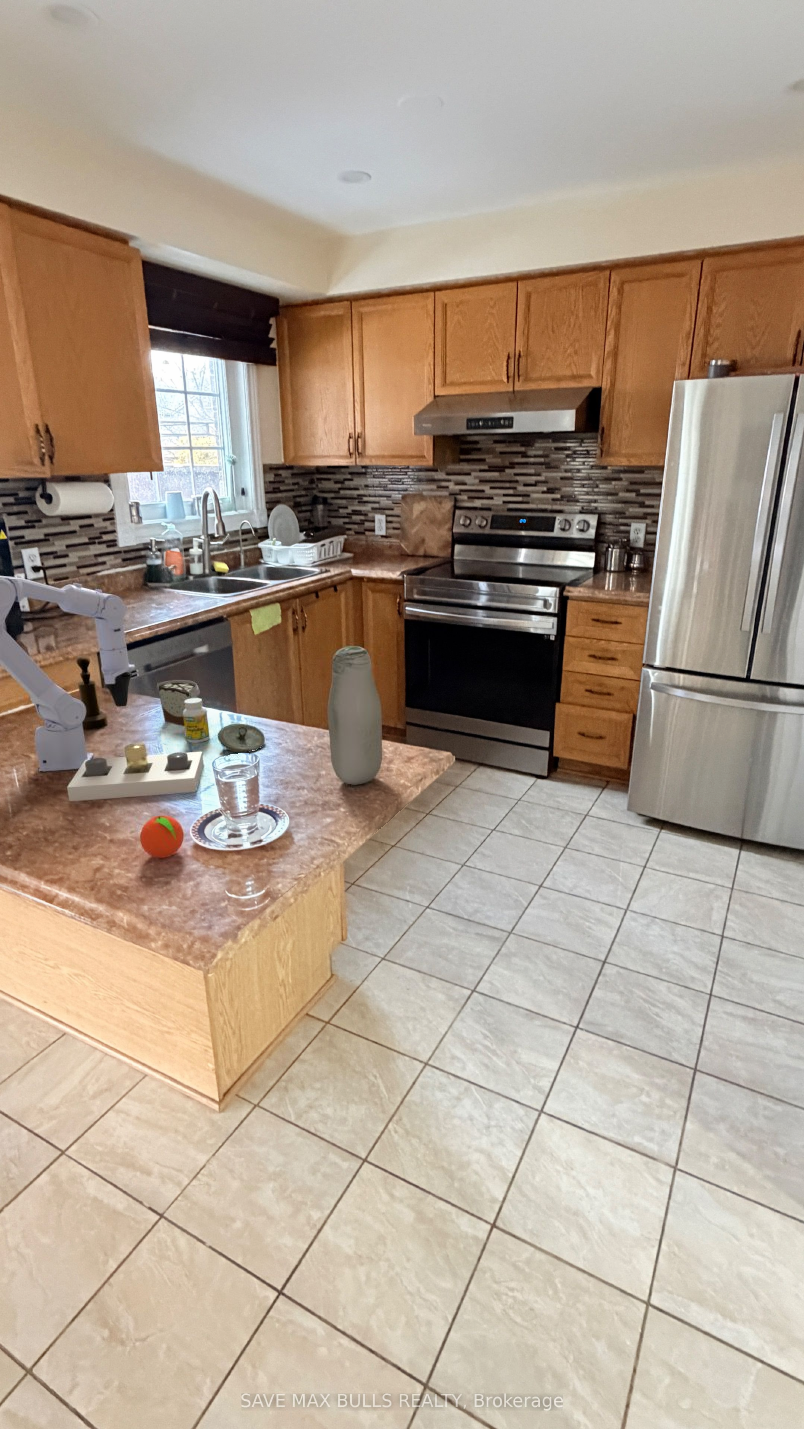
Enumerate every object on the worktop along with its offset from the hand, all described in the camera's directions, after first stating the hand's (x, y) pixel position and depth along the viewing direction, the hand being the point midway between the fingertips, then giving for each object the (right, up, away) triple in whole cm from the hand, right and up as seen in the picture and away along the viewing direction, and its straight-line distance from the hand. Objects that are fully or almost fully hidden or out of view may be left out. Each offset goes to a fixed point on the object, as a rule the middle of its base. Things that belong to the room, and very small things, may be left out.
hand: (121, 705), depth 172 cm
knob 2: (+18, -15, -17) cm, 29 cm away
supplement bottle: (+16, -8, +5) cm, 19 cm away
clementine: (+25, -26, -46) cm, 58 cm away
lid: (+28, -9, 0) cm, 29 cm away
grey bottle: (+55, -16, -19) cm, 60 cm away
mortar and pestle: (-13, -5, +16) cm, 21 cm away
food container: (+10, -4, +17) cm, 20 cm away
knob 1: (+2, -16, -19) cm, 25 cm away
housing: (+10, -16, -18) cm, 26 cm away
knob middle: (+10, -13, -18) cm, 25 cm away
